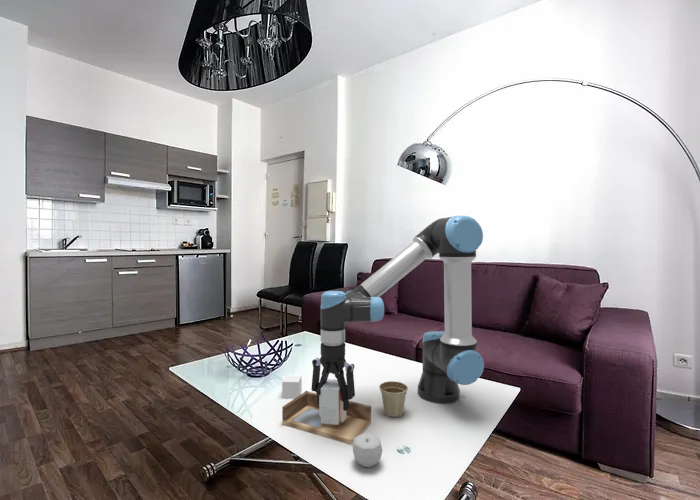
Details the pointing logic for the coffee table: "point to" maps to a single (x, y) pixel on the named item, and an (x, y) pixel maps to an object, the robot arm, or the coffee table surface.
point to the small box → (330, 402)
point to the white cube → (291, 386)
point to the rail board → (307, 418)
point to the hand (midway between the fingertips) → (332, 417)
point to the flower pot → (393, 397)
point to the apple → (367, 449)
